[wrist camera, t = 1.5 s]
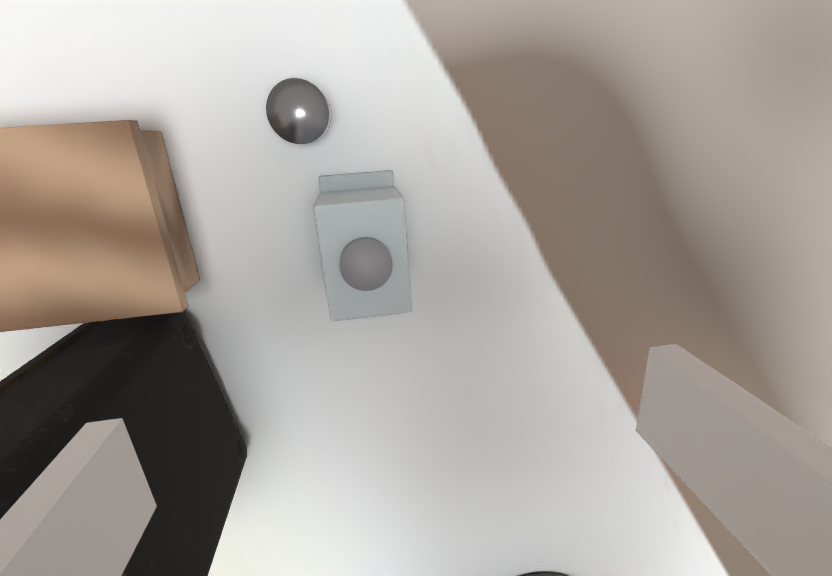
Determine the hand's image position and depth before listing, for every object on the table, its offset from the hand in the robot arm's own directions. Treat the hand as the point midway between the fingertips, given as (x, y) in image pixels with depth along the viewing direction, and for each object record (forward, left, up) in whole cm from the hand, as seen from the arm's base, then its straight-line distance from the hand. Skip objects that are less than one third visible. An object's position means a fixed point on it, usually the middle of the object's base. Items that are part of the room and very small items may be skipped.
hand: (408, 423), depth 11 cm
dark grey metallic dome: (+9, +4, -22) cm, 24 cm away
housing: (0, +1, -22) cm, 22 cm away
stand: (+3, +18, -22) cm, 28 cm away
